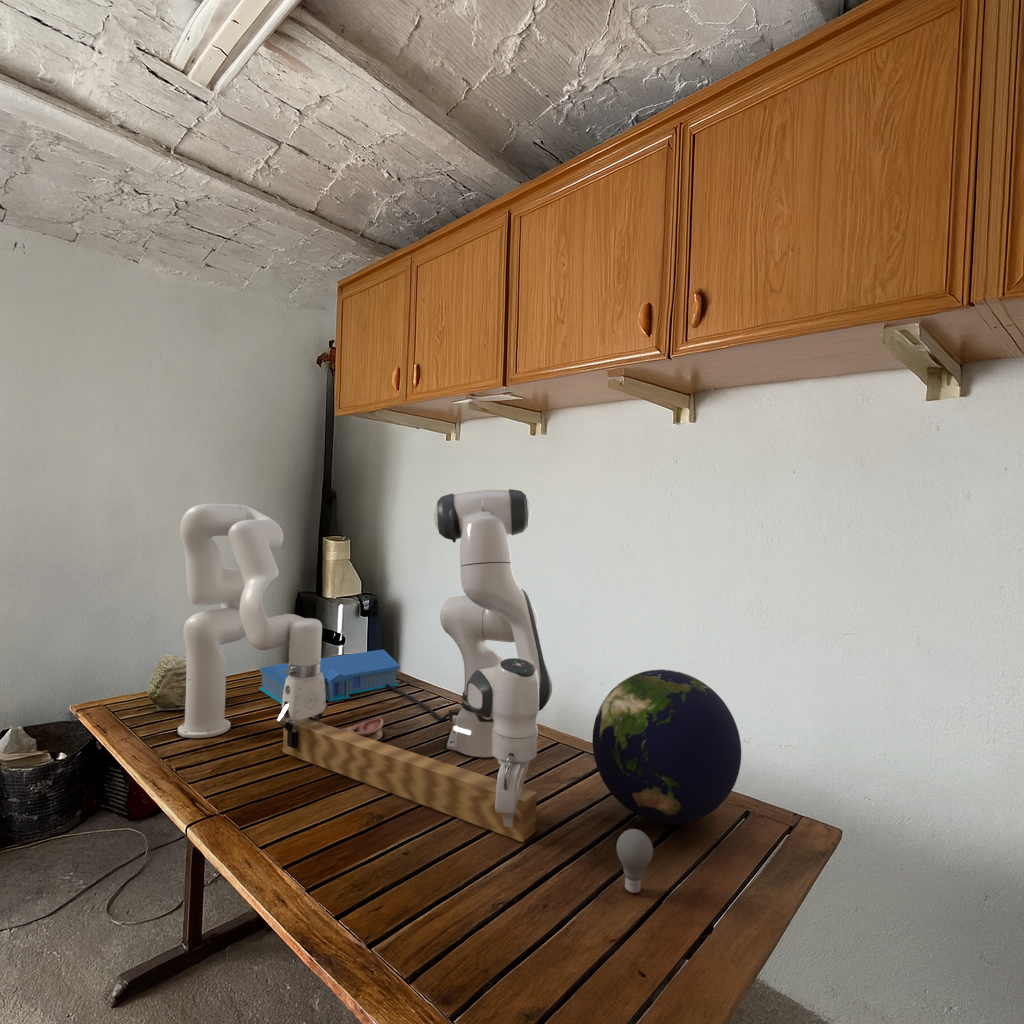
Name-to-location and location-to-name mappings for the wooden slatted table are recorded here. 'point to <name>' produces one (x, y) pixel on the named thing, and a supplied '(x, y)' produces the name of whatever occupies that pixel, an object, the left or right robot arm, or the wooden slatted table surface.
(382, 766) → the bar
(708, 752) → the globe
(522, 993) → the wooden slatted table surface
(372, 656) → the model building
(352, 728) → the anatomical model
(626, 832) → the light bulb
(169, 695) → the fossil
